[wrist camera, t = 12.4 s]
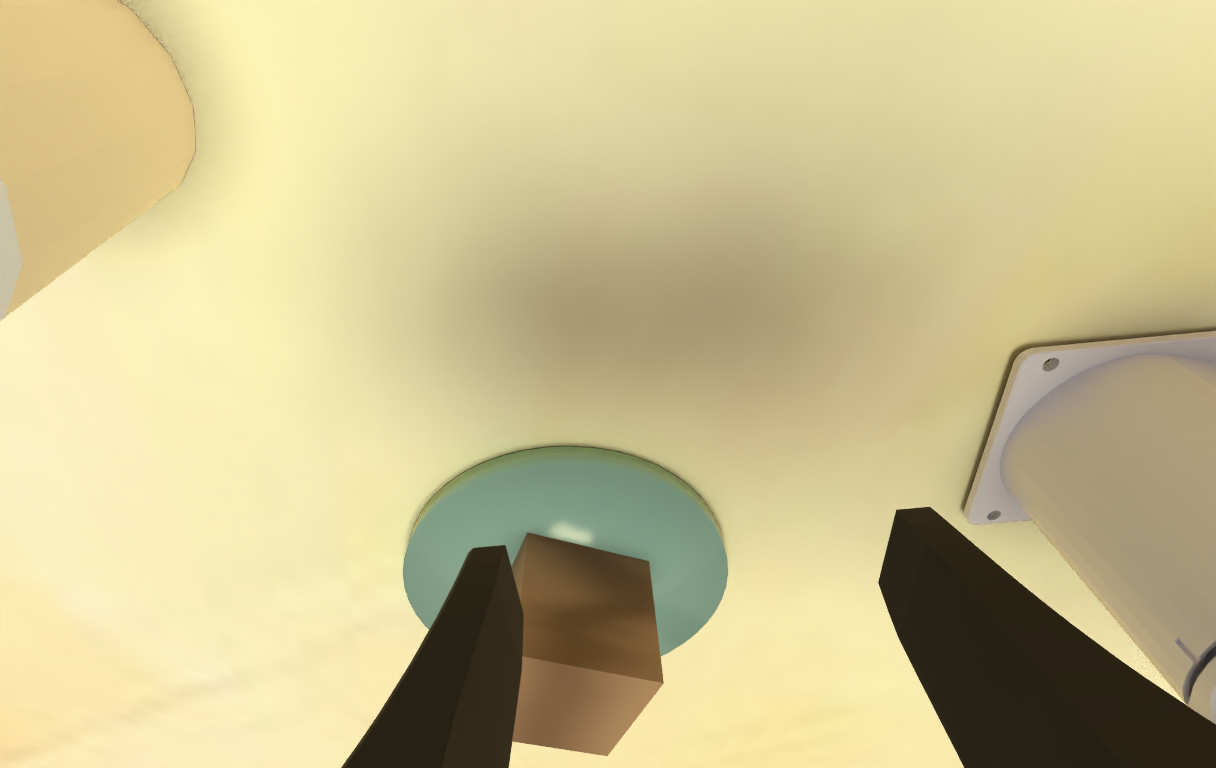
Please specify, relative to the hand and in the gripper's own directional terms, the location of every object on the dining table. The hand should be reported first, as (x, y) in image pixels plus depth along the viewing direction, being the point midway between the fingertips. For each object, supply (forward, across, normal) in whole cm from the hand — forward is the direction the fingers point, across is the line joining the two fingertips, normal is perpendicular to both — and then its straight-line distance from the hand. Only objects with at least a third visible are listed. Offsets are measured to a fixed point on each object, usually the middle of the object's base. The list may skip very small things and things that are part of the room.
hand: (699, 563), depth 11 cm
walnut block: (+8, +4, +11) cm, 14 cm away
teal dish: (+9, +4, +11) cm, 15 cm away
